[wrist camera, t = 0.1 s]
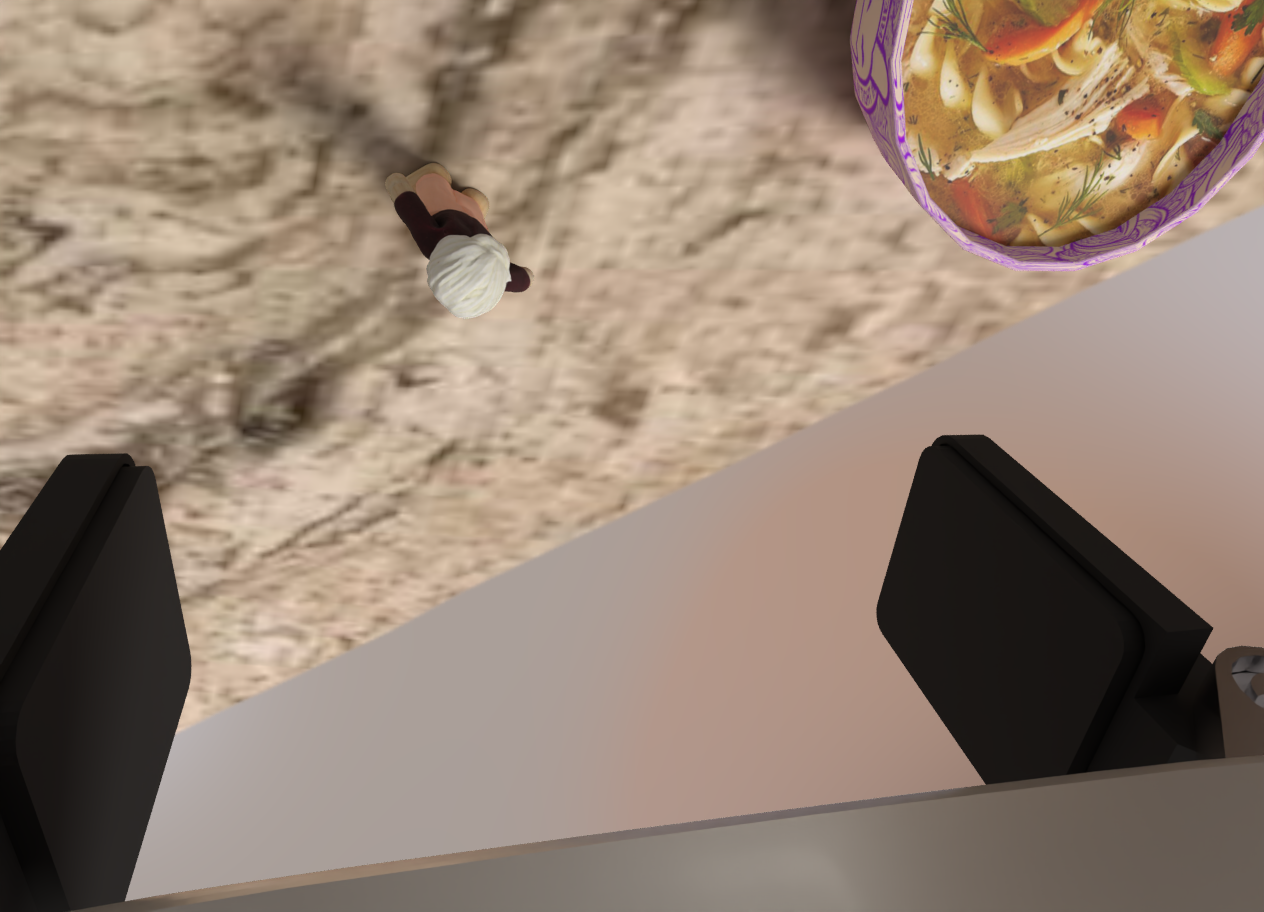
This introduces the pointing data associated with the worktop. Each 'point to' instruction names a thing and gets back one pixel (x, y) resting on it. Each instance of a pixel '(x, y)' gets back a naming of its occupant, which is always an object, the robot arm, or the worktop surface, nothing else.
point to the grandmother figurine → (455, 241)
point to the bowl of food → (1061, 116)
